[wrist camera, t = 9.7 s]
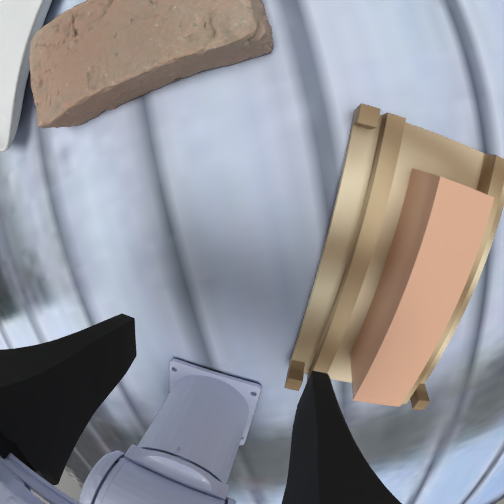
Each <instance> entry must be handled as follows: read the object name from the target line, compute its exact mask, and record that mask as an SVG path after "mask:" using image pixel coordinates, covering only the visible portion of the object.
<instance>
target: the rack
mask: <svg viewBox="0 0 504 504" xmlns="http://www.w3.org/2000/svg"><path fill="white" fill-rule="evenodd" d="M405 120H406V118H403V117H400V116H397V115H394V114H390V113H386V114H384V115H380V109H379V108H376V107H372V106H369V105H365V104H360V105H359V106H358V107H357V108H356V109H355V111H354V116H353V121H352V126H351V132H350V137H349V142H348V146H347V151H346V156H345V161H344V165H343V170H342V174H341V179H340V183H339V188H338V192H337V196H336V200H335V205H334V209H333V213H332V217H331V221H330V225H329V229H328V233H327V237H326V240H325V244H324V248H323V252H322V256H321V259H320V263H319V267H318V270H317V274H316V277H315V281H314V284H313V288H312V291H311V295H310V298H309V302H308V305H307V308H306V312H305V315H304V318H303V321H302V325H301V328H300V331H299V334H298V337H297V340H296V344H295V347H294V350H293V353H292V356H291V359H290V362H289V368H288V373H287V378H286V384H285V388H288V389H292V390H296V391H299V389H300V387H301V384H302V382H303V374H304V373H305V374H308V376H307V382H308V379H309V377H310V374H311V372H312V370H313V371H318V372H323V373H327V374H328V375H329V377H330V379H334V380H339V381H345V382H350V383H352V376H351V361H350V354H351V352H352V349H353V347H354V345H355V342H356V340H357V338H358V335H359V333H360V330H361V328H362V326H363V323H364V321H365V318H366V316H367V313H368V310H369V308H370V305H371V303H372V300H373V297H374V295H375V292H376V289H377V286H378V284H379V281H380V278H381V275H382V272H383V269H384V266H385V263H386V260H387V257H388V254H389V251H390V248H391V245H392V241H393V238H394V235H395V232H396V228H397V225H398V221H399V218H400V214H401V211H402V207H403V203H404V199H405V196H406V192H407V188H408V184H409V179H410V175H411V171H412V168H414V169H417V170H421V171H424V172H427V173H431V174H434V175H437V176H440V177H443V178H446V179H449V180H451V181H454V182H457V183H459V184H462V185H465V186H467V187H470V188H472V189H475V190H477V191H480V192H482V193H484V194H487V195H489V196H491V197H494V201H493V205H492V209H491V212H490V216H489V219H488V222H487V226H486V229H485V232H484V235H483V238H482V241H481V244H480V247H479V250H478V253H477V256H476V259H475V261H474V264H473V267H472V269H471V272H470V274H469V277H468V279H467V282H466V284H465V287H464V289H463V292H462V294H461V296H460V298H459V301H458V303H457V305H456V307H455V310H454V312H453V314H452V316H451V318H450V320H449V322H448V324H447V326H446V328H445V330H444V332H443V334H442V336H441V338H440V340H439V342H438V344H437V346H436V348H435V349H434V351H433V353H432V355H431V357H430V358H429V360H428V362H427V364H426V365H425V367H424V369H423V371H422V372H421V374H420V376H419V377H418V379H417V381H416V382H415V384H414V385H413V387H412V389H411V390H410V392H409V393H408V395H407V396H406V398H405V399H404V401H403V402H402V404H407V402H408V401H409V399H410V400H411V404H412V408H413V409H416V410H424V409H425V407H426V406H427V405H428V403H429V402H430V401H429V397H428V394H427V391H426V387H425V382H426V381H427V379H428V378H429V376H430V374H431V373H432V371H433V369H434V368H435V366H436V364H437V363H438V361H439V359H440V358H441V356H442V354H443V352H444V350H445V349H446V347H447V345H448V343H449V341H450V339H451V338H452V336H453V334H454V332H455V330H456V328H457V326H458V324H459V322H460V320H461V318H462V316H463V314H464V312H465V309H466V307H467V305H468V303H469V301H470V299H471V296H472V294H473V292H474V289H475V287H476V285H477V282H478V280H479V277H480V275H481V272H482V270H483V267H484V265H485V262H486V259H487V257H488V254H489V251H490V248H491V245H492V242H493V239H494V236H495V233H496V230H497V227H498V223H499V220H500V217H501V213H502V210H503V206H504V159H503V158H501V157H499V156H497V155H490V154H484V153H482V152H480V151H477V150H475V149H473V148H471V147H468V146H466V145H464V144H461V143H459V142H456V141H454V140H452V139H449V138H447V137H444V136H441V135H439V134H436V133H434V132H431V131H428V130H425V129H423V128H420V127H417V126H414V125H411V124H408V123H405Z"/></svg>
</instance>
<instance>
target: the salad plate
mask: <svg viewBox="0 0 504 504" xmlns="http://www.w3.org/2000/svg"><path fill="white" fill-rule="evenodd" d="M51 2H52V0H0V151H1V152H4V151H6V150H7V149H8V148H9V147H10V145H11V143H12V142H13V139H14V137H15V135H16V132H17V128H18V124H19V119H20V114H21V110H22V104H23V98H24V92H25V87H26V83H27V79H28V74H29V70H30V62H29V56H30V45H31V40H32V38H33V36H34V34H35V33H36V32H37V31H39V30H40V29H41V28H42V26H43V23H44V21H45V18H46V15H47V12H48V10H49V7H50V5H51Z"/></svg>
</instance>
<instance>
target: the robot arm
mask: <svg viewBox="0 0 504 504" xmlns="http://www.w3.org/2000/svg"><path fill="white" fill-rule="evenodd" d="M135 357H136V340H135V318H132V317H130V316H127V315H124V314H120V315H117V316H115V317H112V318H110V319H108V320H105V321H103V322H101V323H98V324H96V325H93V326H91V327H89V328H86V329H84V330H81V331H79V332H76V333H73V334H71V335H68V336H65V337H62V338H60V339H57V340H53V341H50V342H46V343H42V344H38V345H34V346H28V347H22V348H16V349H6V350H0V504H45V503H44V502H43V501H41V500H40V499H39V498H38V497H36V496H35V495H34V494H33V493H32V492H31V490H30V489H32V490H33V491H34V492H36V493H37V494H38V495H39V496H41V497H42V498H43V499H45V500H46V501H48V502H49V503H50V504H236V501H235V500H234V499H231V498H228V497H227V495H228V492H229V489H230V486H229V485H227V484H226V483H227V480H228V477H229V474H230V472H231V469H232V466H233V463H234V460H235V457H236V453H237V450H238V447H239V445H244V444H245V441H246V438H247V434H248V431H249V428H250V425H251V422H252V418H253V415H254V412H255V409H256V405H257V402H258V399H259V395H260V392H261V386H260V385H259V384H257V383H253V382H250V381H246V380H242V379H239V378H235V377H232V376H228V375H225V374H221V373H218V372H215V371H212V370H208V369H205V368H202V367H199V366H196V365H193V364H190V363H187V362H184V361H181V360H178V359H172V360H171V361H170V363H169V395H168V397H167V398H166V400H165V402H164V403H163V405H162V406H161V408H160V410H159V411H158V413H157V415H156V416H155V418H154V420H153V421H152V423H151V425H150V426H149V428H148V429H147V431H146V433H145V434H144V436H143V438H142V439H141V441H140V443H139V444H138V446H135V445H133V444H132V445H131V446H130V447H129V449H128V450H127V452H126V454H125V453H123V452H121V451H118V450H117V451H114V452H112V453H108V454H106V455H104V456H103V457H102V458H101V459H100V460H99V461H98V462H97V463H96V465H95V466H94V467H93V469H92V470H91V472H90V474H89V475H88V477H87V479H86V481H85V483H84V485H83V488H82V491H81V494H80V503H79V502H78V501H76V500H75V499H73V498H71V497H70V496H68V495H67V494H65V493H63V492H62V491H61V490H59V489H57V488H56V487H55V486H53V485H57V484H58V483H59V481H60V478H61V475H62V473H63V470H64V468H65V466H66V463H67V461H68V459H69V457H70V455H71V453H72V451H73V449H74V447H75V445H76V443H77V441H78V439H79V437H80V436H81V434H82V432H83V430H84V429H85V427H86V425H87V424H88V422H89V420H90V419H91V417H92V415H93V414H94V413H95V411H96V410H97V409H98V407H99V406H100V405H101V404H102V402H103V401H104V400H105V399H106V397H107V396H108V395H109V394H110V393H111V391H112V390H113V389H114V388H115V386H116V385H117V384H118V383H119V381H120V380H121V379H122V378H123V376H124V375H125V374H126V372H127V371H128V369H129V367H130V366H131V364H132V362H133V361H134V359H135ZM174 367H175V368H176V369H175V368H174ZM253 392H255V393H253ZM282 504H402V503H401V502H399V501H398V500H397V499H396V498H395V497H394V496H393V495H392V493H391V492H390V491H389V490H388V489H387V488H386V487H385V486H384V484H383V483H382V482H381V481H380V479H379V478H378V477H377V475H376V474H375V473H374V471H373V470H372V469H371V467H370V466H369V464H368V463H367V461H366V460H365V458H364V457H363V455H362V453H361V452H360V450H359V448H358V446H357V445H356V443H355V441H354V439H353V437H352V435H351V433H350V431H349V429H348V426H347V424H346V422H345V419H344V417H343V415H342V412H341V410H340V407H339V404H338V402H337V399H336V396H335V393H334V390H333V387H332V384H331V380H330V377H329V375H328V374H327V373H323V372H318V371H313V370H312V372H311V374H310V377H309V379H308V382H307V384H306V386H305V389H304V391H303V394H302V396H301V398H300V401H299V403H298V406H297V410H296V415H295V420H294V425H293V432H292V442H291V452H290V462H289V471H288V478H287V484H286V488H285V492H284V497H283V501H282Z"/></svg>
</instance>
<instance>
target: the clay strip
mask: <svg viewBox="0 0 504 504" xmlns="http://www.w3.org/2000/svg"><path fill="white" fill-rule="evenodd" d="M493 201H494V197H491V196H489V195H487V194H484V193H482V192H480V191H477V190H475V189H472V188H470V187H467V186H465V185H462V184H459V183H457V182H454V181H451V180H449V179H446V178H443V177H440V176H437V175H434V174H431V173H427V172H424V171H421V170H417V169H414V168H412V171H411V175H410V179H409V184H408V188H407V192H406V196H405V199H404V203H403V207H402V211H401V214H400V218H399V221H398V225H397V228H396V232H395V235H394V238H393V241H392V245H391V248H390V251H389V254H388V257H387V260H386V263H385V266H384V269H383V272H382V275H381V278H380V281H379V284H378V286H377V289H376V292H375V295H374V297H373V300H372V303H371V305H370V308H369V310H368V313H367V316H366V318H365V321H364V323H363V326H362V328H361V330H360V333H359V335H358V338H357V340H356V342H355V345H354V347H353V349H352V352H351V354H350V361H351V376H352V393H353V400H354V401H361V402H367V403H374V404H382V405H390V406H398V407H400V405H401V404H402V402H403V401H404V399H405V398H406V396H407V395H408V393H409V392H410V390H411V389H412V387H413V385H414V384H415V382H416V381H417V379H418V377H419V376H420V374H421V372H422V371H423V369H424V367H425V365H426V364H427V362H428V360H429V358H430V357H431V355H432V353H433V351H434V349H435V348H436V346H437V344H438V342H439V340H440V338H441V336H442V334H443V332H444V330H445V328H446V326H447V324H448V322H449V320H450V318H451V316H452V314H453V312H454V310H455V307H456V305H457V303H458V301H459V298H460V296H461V294H462V292H463V289H464V287H465V284H466V282H467V279H468V277H469V274H470V272H471V269H472V267H473V264H474V261H475V259H476V256H477V253H478V250H479V247H480V244H481V241H482V238H483V235H484V232H485V229H486V226H487V222H488V219H489V216H490V212H491V209H492V205H493Z"/></svg>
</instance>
